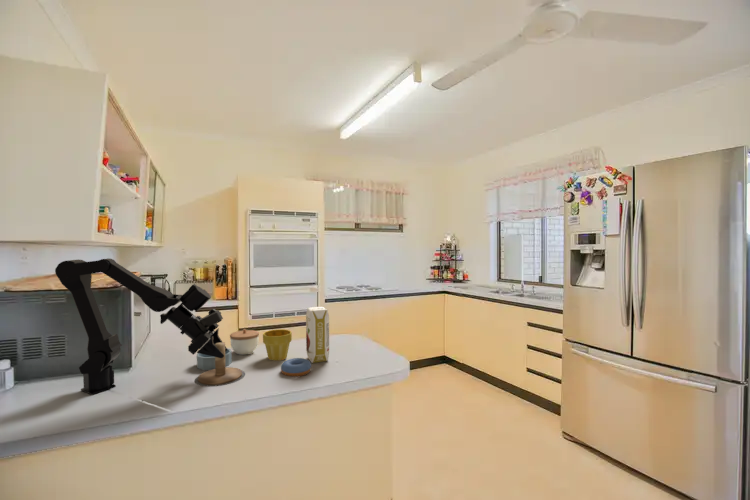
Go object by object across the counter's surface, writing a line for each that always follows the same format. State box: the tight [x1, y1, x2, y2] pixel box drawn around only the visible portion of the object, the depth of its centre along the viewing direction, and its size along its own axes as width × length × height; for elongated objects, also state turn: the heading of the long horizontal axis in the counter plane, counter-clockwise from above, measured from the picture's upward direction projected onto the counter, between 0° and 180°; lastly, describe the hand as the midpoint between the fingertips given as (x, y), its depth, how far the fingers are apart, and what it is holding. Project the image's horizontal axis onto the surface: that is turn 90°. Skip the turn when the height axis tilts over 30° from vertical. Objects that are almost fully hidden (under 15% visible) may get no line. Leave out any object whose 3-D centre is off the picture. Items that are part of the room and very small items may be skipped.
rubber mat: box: [194, 369, 246, 388], centre depth 118 cm, size 15×15×1 cm
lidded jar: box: [229, 328, 260, 355], centre depth 144 cm, size 11×11×9 cm
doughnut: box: [280, 357, 312, 378], centre depth 123 cm, size 10×10×5 cm
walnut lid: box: [197, 341, 243, 385], centre depth 118 cm, size 13×13×11 cm
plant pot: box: [262, 328, 293, 361], centre depth 137 cm, size 10×10×10 cm
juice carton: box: [305, 306, 330, 364], centre depth 136 cm, size 8×9×19 cm
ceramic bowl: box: [196, 348, 233, 371], centre depth 130 cm, size 11×11×4 cm
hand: (224, 353), depth 118 cm, fingers open, 6 cm apart
